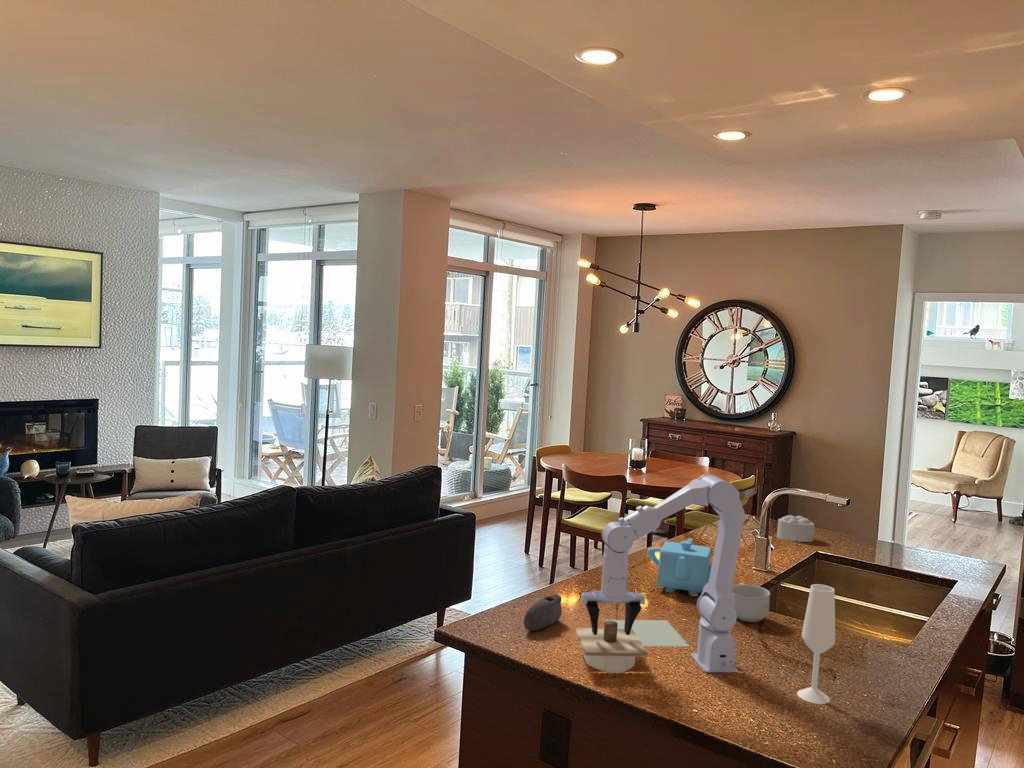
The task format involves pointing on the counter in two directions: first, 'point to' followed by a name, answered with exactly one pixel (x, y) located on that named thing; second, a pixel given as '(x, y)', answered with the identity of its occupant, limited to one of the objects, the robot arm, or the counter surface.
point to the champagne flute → (818, 635)
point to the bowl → (611, 663)
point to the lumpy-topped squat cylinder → (795, 529)
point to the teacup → (751, 602)
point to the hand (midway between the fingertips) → (610, 633)
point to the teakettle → (682, 566)
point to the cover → (610, 641)
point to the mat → (655, 633)
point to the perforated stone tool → (543, 613)
